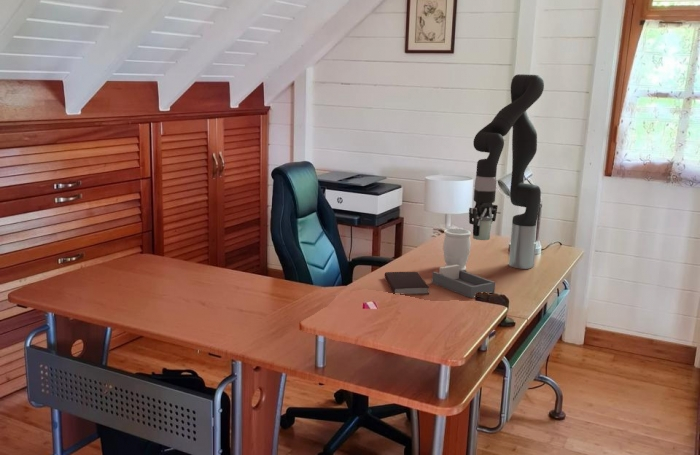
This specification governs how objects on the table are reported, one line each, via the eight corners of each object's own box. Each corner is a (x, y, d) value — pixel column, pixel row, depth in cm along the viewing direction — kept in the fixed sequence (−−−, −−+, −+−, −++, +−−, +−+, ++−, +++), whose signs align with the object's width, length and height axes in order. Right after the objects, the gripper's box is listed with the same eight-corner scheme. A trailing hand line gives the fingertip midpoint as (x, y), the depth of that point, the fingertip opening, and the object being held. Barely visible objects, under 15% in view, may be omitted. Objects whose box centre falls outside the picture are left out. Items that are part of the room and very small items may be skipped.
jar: (460, 273, 259) (463, 235, 255) (437, 268, 265) (439, 231, 261) (473, 268, 267) (476, 231, 264) (450, 263, 273) (452, 227, 270)
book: (393, 296, 232) (393, 287, 231) (384, 279, 251) (384, 270, 250) (429, 296, 233) (429, 286, 233) (417, 279, 252) (417, 270, 251)
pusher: (456, 277, 250) (457, 264, 249) (458, 278, 249) (459, 265, 248) (438, 280, 245) (439, 267, 244) (441, 281, 244) (442, 268, 243)
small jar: (479, 235, 250) (481, 213, 249) (493, 238, 246) (495, 216, 244) (469, 237, 246) (470, 215, 245) (482, 241, 242) (484, 218, 240)
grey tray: (455, 278, 253) (455, 268, 252) (494, 293, 237) (495, 282, 236) (432, 282, 246) (432, 272, 246) (470, 298, 230) (471, 287, 229)
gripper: (488, 185, 250) (485, 230, 253) (464, 188, 240) (460, 235, 244) (505, 188, 244) (501, 234, 248) (481, 191, 235) (477, 239, 238)
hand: (481, 234), depth 246 cm, fingers closed on small jar, 6 cm apart
